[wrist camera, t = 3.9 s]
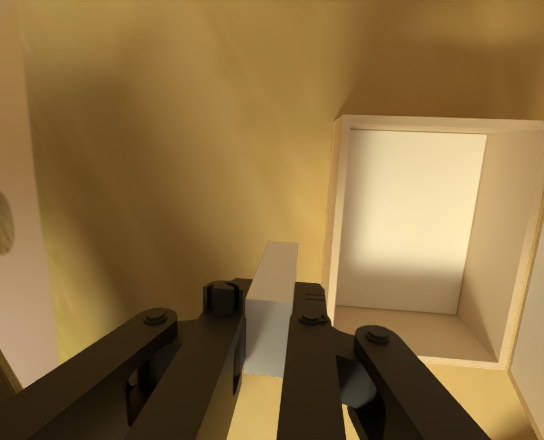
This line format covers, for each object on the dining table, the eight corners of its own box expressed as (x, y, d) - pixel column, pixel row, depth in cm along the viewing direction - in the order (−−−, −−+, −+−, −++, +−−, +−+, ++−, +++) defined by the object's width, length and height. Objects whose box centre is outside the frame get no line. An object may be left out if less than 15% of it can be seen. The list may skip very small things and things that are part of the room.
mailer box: (319, 306, 31) (323, 353, 24) (333, 121, 27) (342, 114, 20) (459, 318, 29) (504, 370, 23) (492, 126, 26) (558, 120, 19)
